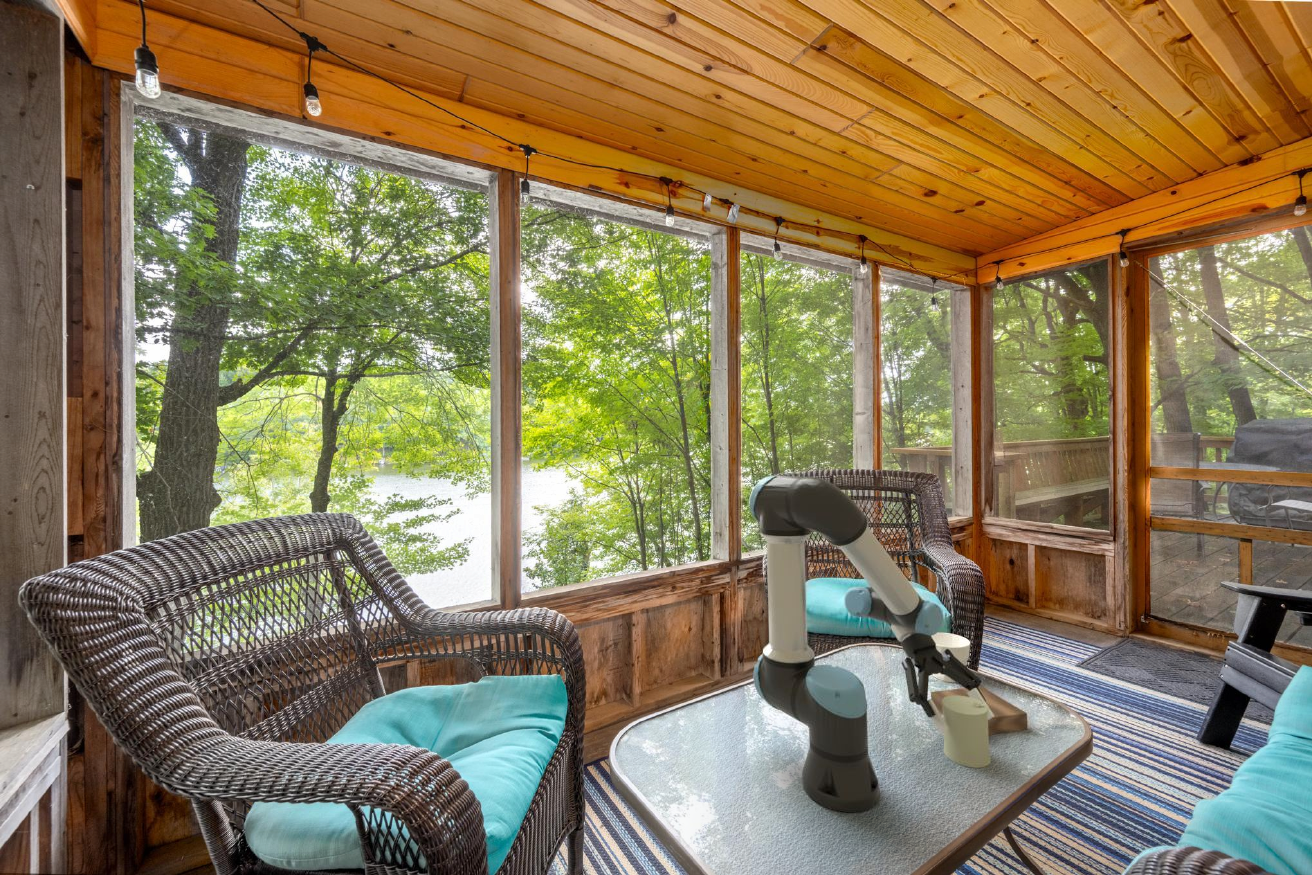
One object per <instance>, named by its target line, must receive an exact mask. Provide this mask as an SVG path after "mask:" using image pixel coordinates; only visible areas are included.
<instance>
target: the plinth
mask: <svg viewBox="0 0 1312 875" xmlns="http://www.w3.org/2000/svg"><path fill="white" fill-rule="evenodd" d="M978 688H979V690H980V692H981V693H982V695H983V696H984V698H985V699H986V704H987V705H988V707H989V708H990V710H991V711H992V713H993V714H994V717H993V718H991V719H989V720H988V735H989V736H990V735H996V734H997V735H998V734H1003V733H1004V734H1006V733H1013V732H1021V731H1028V729H1029V728H1028V713H1027V712H1026V711H1024V710H1023V709H1020V708H1019V707H1017V706H1016V705H1013V704H1012V703H1010V702H1008V701H1007V700H1005V699H1004V698H1003V697H1000V696H999V695H997V694H995V693H993V692H992V691H990V690H988V689H987V688H985V687H983V686H981V685H980V686H979V687H978ZM968 692H969V690H967V689H966V688H964V687H961V688H954V689H946V690H934V691H930V699H932V700H933V702H934V704H935V706H936V707H937V709H938V711H939V712H940V714H941V716H943V709H942V699H943V698H944V697H946V696H952V695H959V696H966V697H969V695H968Z"/></svg>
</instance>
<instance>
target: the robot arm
mask: <svg viewBox="0 0 1312 875" xmlns="http://www.w3.org/2000/svg"><path fill="white" fill-rule="evenodd" d="M748 506H749V511H750V514H751V516H753V519H754V520H755V521H757V522H758V523H759V534H760V535H761V537H763V539H764V540H765V541H766V563H767V565H766V566H767V567H766V568H767V570H766V571H767V603H768V604H767V606H768V607H767V608H768V610H767V611H768V643H767V644H766V645H765V646H764V647H763V649H762V654H760V655H759V656H758V658H757V663H755V664H754V668H753V672H752V673H753V683H754V684H753V685H754V687H755V690H756V692H757V694H758V696H759V697H760V698H761V699H762V700H763V701H764V702H766V703H767V704H768V705H769V706H771V707H772V708H773V709H775V710H778V711H780V712H782V713H784V714H786V715H788V716H790V717H791V718H792V719H794V720H796V721H798V722H800V723H801V724H804V726H807V727H808V737H809V740H808V741H809V748H808V750H807V751H808V752H807V754H806V759H805V761H804V765H803V769H802V786H803V790H804V791H805V793H806V795H807V796H808V797H809V798H810V799H812V801H814V802H816V803H817V804H818V805H821V806H822V807H824V808H828V809H830V810H834V811H837V812H843V813H859V812H864V811H867V810H869V809H871V808H873V807H874V806H875V805H877V803H878V802H879V799H880V784H879V780H878V776H877V774H876V772H875V768H874V766H873V762H872V760H871V757H870V754H869V741H868V740H869V738H868V737H869V735H868V732H869V731H868V702H867V701H868V700H867V698H866V697H867V696H866V689H865V686H864V684H863V682H862V680H861V678H859V677H858V676H857V675H856V674H855V673H853V672H851V671H850V670H848V669H845V668H843V667H840V666H832V665H831V664H819V665H816V664H815V661H816V660H815V652H814V650H813V649H812V648H811V647H810V646H809V645H808V624H807V623H808V621H807V618H808V617H807V591H806V590H807V588H806V587H807V586H806V553H805V550H806V547H805V542H806V540H807V539H808V538H809V537H811V535H812V531H813V532H815V533H817V534H820V535H821V536H823V537H824V538H825V539H826V540H827V541H828V542H829V544H830V545H832V546H834V547H837V548H839V549H840V550H841V551H842V553H843V554H844V555H845V557H846V558H847V559H848V560H849V562H851V563H850V564H852V565H853V566H854V568H855V569H856V570H857V572H858V573H859V574H860V575H861V577H862V578H864V580H865V582H867V584H868V585H869V586H870V587H869V586H864V585H860V586H853V587H850V588H849V589H848V590H846V592H845V595H844V606H845V609H846V610H847V612H848V613H849V614H850V615H852V616H853V617H855V618H861V619H865V618H868V619H871V620H875V621H878V622H881V623H884V624H888V625H889V627H890V629H891V630H892V632H893V634H894V636H895V637H896V640H897V641H898V642H900V646H901V647H902V649H903V651H904V652H905V654H906V658H905V659H903V660H902V661H901V666H902V668H903V670H904V674H905V680H906V686H907V692H908V698H909V699H908V700H909V702H911V703H915V704H916V705H917V706H921V707H922V710H923V711H924V713H925V714H926V716H927V718H930V720H931V721H932V723H933V725H934V726H935V728H936V730H937V731H938V733H939V734H944V732H945V731H946V730H948V729H949V728H948V726H947V724H946V723H945V721H944V719H943V715H942V714H940V712H939V711H938V709H937V707H936V706H935V704H934V702H933V700H932V699H931V698H929V681H930V680H929V678H930V676H933V674H939V673H941V674H943V675H946V676H948V677H949V678H951V679H952V680H954V681H955V682H954V683H957V684H958V685H960V686H962V688H966V689H967V690H969V692H968V695H969V697H970V698H973V699H976V700H978V701H980V702H982V703H984V704H985V705H986V706H987V708H988V720H989V719H991V718H993V717H994V714H993V713H992V711H991V710H990V708H989V707H988V705H987V704H986V699H985V698H984V696H983V695H982V693H981V692H980V690H979V688H978V687H979V686H981V684H982V683H983V681H982V679H981V678H980V677H979V676H977V675H976V674H975V673H974V672H973V671H972V670H970V668H968V667H967V665H966V666H965V665H964V664H962V663H961V662H960V661H959V660H958V659H957V658H955V657H954V655H953V654H952V653H951V651H950V650H949V649H946V650H945V651H943V652H941V653H940V652H939V651H938V650H937V649H936V643H935V642H934V640H933V638H932V637H931V635H935V634H936V633H939V631H940V630H941V627H942V625H943V622H944V617H943V616H944V615H943V611H942V609H941V607H940V606H939V605H938V604H937V603H934V602H931V601H930V600H924V599H923V598H922V597H921V596H920V595H919V593H918V592H917V590H916V589H915V587H913V585H912V583H911V582H910V581H909V579H907V577H906V576H905V574H904V573H903V572H902V571H901V569H900V568H899V566H898V564H896V562H895V561H894V560H893V558H892V557H891V556H890V554H889V553H888V551H886V549H885V548H884V547H883V545H882V544H881V542H880V541H879V540H878V539H877V537H876V536H875V534H874V533H873V532H872V530H871V529H870V528H869V520H868V518H867V516H866V515H865V513H864V512H863V511H862V509H860V507H859V506H858V505H857V504H856V503H855V502H854V500H853V499H852V498H850V496H849V495H848V494H846V493H845V492H844V491H843V490H842V489H840V488H839V487H838V486H836V485H834V484H833V483H832V482H829V481H828V480H826V479H823V478H821V477H817V476H797V475H795V476H793V475H783V474H778V475H770V476H769V475H768V476H766V477H763V478H761V479H760V480H759V481H758V482H757V483H756V485H755V486H754V487H753V488H752V490H751V493H750V495H749V499H748ZM943 666H944V668H943ZM916 668H917V670H918V671H917V672H916ZM916 673H917V674H916ZM928 698H929V699H928Z"/></svg>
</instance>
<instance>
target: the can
mask: <svg viewBox="0 0 1312 875" xmlns="http://www.w3.org/2000/svg"><path fill="white" fill-rule="evenodd" d="M942 709H943V715H942V717H943V719H944V721H945V723H946V724H947V726H948V728H949V729H948V730H946V731H945V732H943V753H944V755H945V756H946V757H947V758H948V759H949V760H950V761H952V762H954V763H955V764H958V765H960V766H964V767H969V768H976V769H977V768H978V769H979V768H985V767H987V766H989V765H990V764H991V761H992V759H991V753H990V741H989V740H990V739H989V738H990V735H988V708H987V706H986V705H985V704H984V703H982V702H980V701H978V700H976V699H973V698H970V697H966V696H959V695H952V696H946V697H944V698H943V699H942Z"/></svg>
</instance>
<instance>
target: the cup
mask: <svg viewBox="0 0 1312 875" xmlns="http://www.w3.org/2000/svg"><path fill="white" fill-rule="evenodd" d="M931 637H932V638H933V640H934V642H935V643H936V649H937V650H938V651H939V652H940V653H941V652H943V651H945V650H946V649H949V650H950V651H951V653H952V654H953V655H954V657H955V658H957V659H958V660H959V661H960V662H961V663H962V664H964V665H965V666H966V667H967V661H968V660H969V657H970V650H971V641H970V640H969V639H967V638H966V637H963V636H962V635H958V634H955V633H948V632H937V633H936V634H935V635H931ZM943 668H944V666H943ZM932 676H933V677H934V678H935V679H937V680H939V681H942V682H947V683H956V682H955V681H954V680H952V679H951V678H949V677H948V676H946V675H943V674H941V673H939V674H932Z"/></svg>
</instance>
